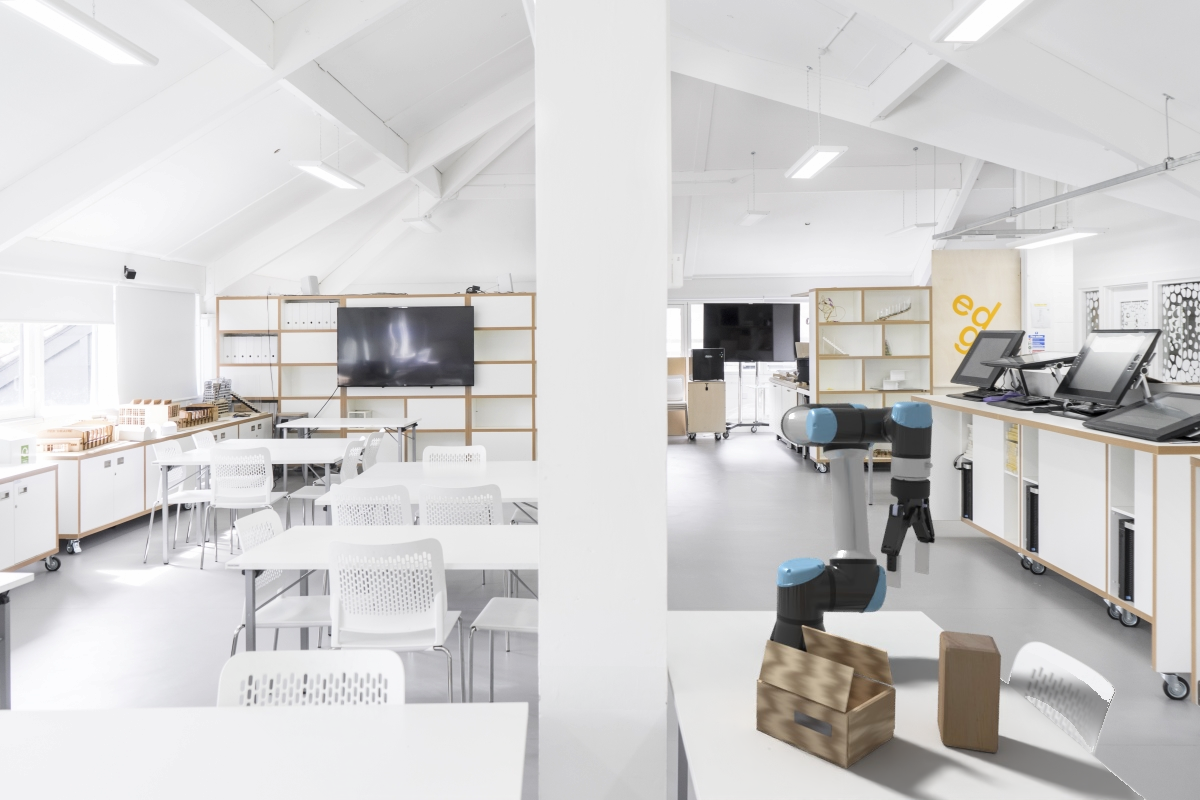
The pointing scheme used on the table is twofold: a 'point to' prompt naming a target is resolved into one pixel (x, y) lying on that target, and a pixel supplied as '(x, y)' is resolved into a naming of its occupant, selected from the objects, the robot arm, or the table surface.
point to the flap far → (849, 654)
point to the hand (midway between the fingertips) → (907, 579)
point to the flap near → (807, 675)
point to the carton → (829, 720)
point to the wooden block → (969, 691)
